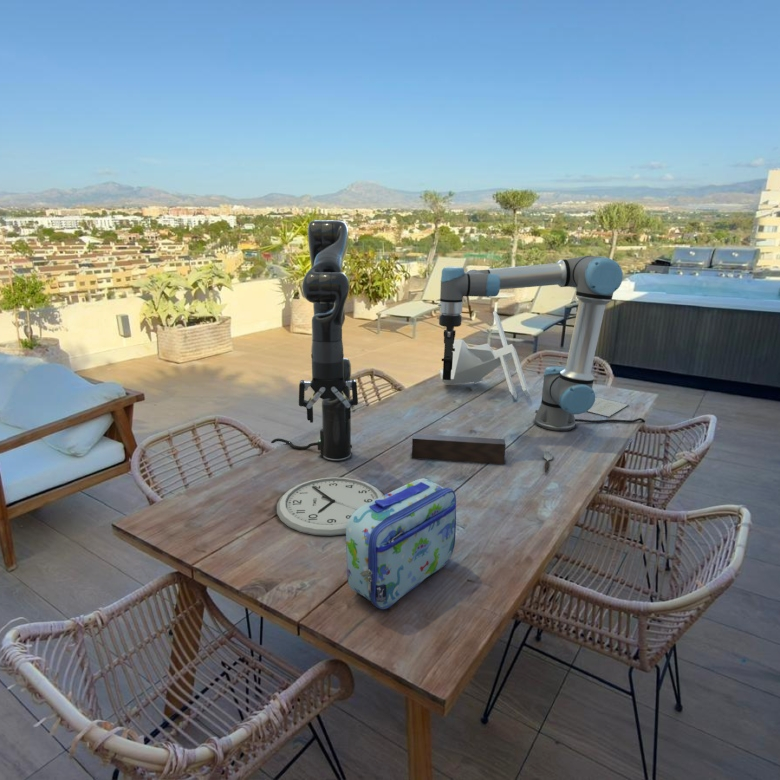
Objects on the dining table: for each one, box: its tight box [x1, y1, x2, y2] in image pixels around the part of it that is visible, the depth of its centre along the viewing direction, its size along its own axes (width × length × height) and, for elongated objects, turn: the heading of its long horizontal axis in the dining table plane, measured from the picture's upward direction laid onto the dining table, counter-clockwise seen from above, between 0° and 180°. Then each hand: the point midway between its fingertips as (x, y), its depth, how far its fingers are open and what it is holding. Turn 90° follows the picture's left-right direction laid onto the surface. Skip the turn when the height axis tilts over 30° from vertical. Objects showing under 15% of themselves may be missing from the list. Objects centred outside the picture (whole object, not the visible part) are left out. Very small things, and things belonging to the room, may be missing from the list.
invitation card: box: [586, 396, 629, 418], centre depth 226 cm, size 21×1×15 cm
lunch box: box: [345, 477, 457, 610], centre depth 110 cm, size 26×11×21 cm, turn 134°
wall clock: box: [276, 476, 385, 537], centre depth 142 cm, size 30×2×30 cm
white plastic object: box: [438, 310, 531, 400], centre depth 245 cm, size 37×45×31 cm
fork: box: [543, 448, 554, 473], centre depth 170 cm, size 3×16×2 cm, turn 160°
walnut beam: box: [411, 433, 507, 465], centre depth 172 cm, size 30×4×7 cm, turn 83°
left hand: (328, 421), depth 129 cm, fingers open, 8 cm apart
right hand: (447, 374), depth 183 cm, fingers open, 13 cm apart
